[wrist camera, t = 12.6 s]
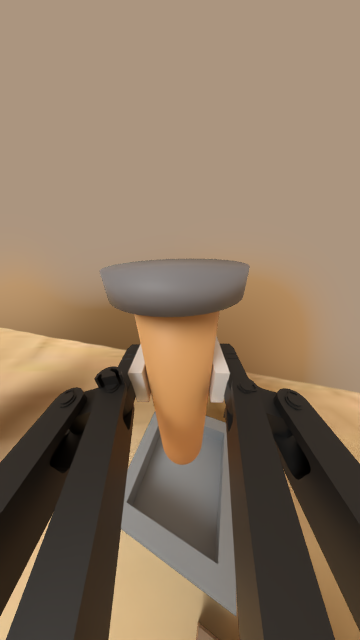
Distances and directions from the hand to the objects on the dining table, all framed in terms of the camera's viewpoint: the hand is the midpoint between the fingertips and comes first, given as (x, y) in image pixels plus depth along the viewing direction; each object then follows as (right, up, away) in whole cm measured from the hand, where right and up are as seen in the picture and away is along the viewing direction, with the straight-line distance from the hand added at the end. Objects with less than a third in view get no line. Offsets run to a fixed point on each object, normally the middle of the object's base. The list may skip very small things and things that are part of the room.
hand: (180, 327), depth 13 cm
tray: (0, -21, +6) cm, 22 cm away
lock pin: (0, -11, 0) cm, 11 cm away
